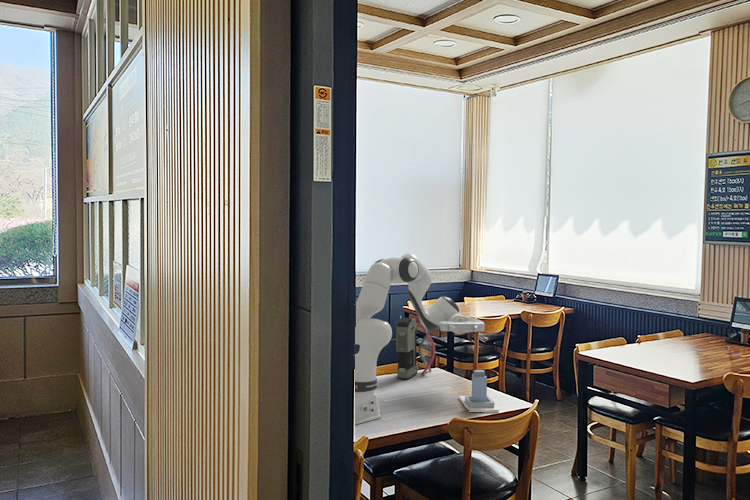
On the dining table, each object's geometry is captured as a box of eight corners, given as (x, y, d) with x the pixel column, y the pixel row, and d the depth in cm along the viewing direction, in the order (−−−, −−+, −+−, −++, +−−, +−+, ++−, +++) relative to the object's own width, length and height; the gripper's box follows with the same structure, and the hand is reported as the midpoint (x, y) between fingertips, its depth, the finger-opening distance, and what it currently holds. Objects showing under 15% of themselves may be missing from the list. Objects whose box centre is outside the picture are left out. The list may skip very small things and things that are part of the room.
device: (408, 380, 282) (408, 320, 281) (394, 378, 285) (394, 319, 284) (418, 373, 295) (418, 316, 294) (404, 372, 298) (404, 315, 297)
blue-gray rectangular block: (486, 405, 238) (486, 372, 238) (474, 405, 238) (475, 372, 237) (483, 401, 243) (483, 369, 242) (471, 402, 243) (472, 369, 242)
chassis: (498, 412, 233) (498, 404, 233) (469, 413, 232) (469, 405, 232) (485, 398, 253) (485, 390, 253) (458, 398, 252) (458, 391, 252)
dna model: (414, 373, 295) (415, 316, 294) (423, 370, 302) (423, 313, 301) (430, 376, 290) (430, 317, 289) (438, 372, 297) (438, 315, 296)
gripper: (436, 317, 264) (442, 321, 251) (480, 317, 266) (488, 321, 252) (436, 331, 264) (441, 336, 251) (479, 331, 266) (487, 336, 252)
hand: (465, 328), depth 251 cm, fingers open, 8 cm apart
